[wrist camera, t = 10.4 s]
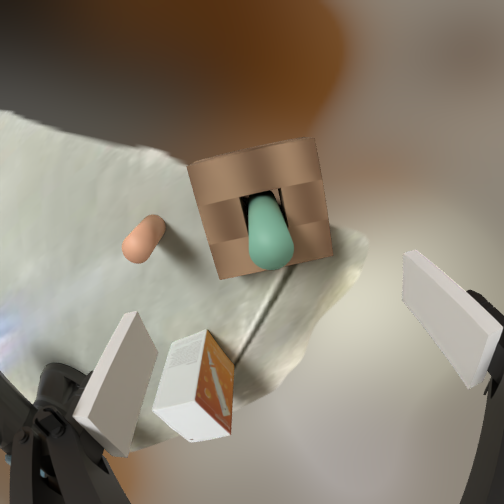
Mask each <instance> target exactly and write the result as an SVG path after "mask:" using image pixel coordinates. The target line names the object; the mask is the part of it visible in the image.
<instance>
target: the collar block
mask: <svg viewBox="0 0 504 504" xmlns="http://www.w3.org/2000/svg"><path fill="white" fill-rule="evenodd" d="M187 170H188V174H189V177H190V181H191V185H192V188H193V192H194V195H195V199H196V202H197V206H198V209H199V213H200V216H201V220H202V223H203V226H204V230H205V233H206V237H207V240H208V243H209V247H210V250H211V253H212V256H213V260H214V263H215V266H216V269H217V273H218V276H219V279H220V280H222V279H227V278H232V277H237V276H242V275H246V274H251V273H256V272H261V271H265V270H266V269H262V268H260V267H258V266H257V265H256V264H255V263H254V262H253V261H252V260H251V258H250V255H249V221H248V217H247V213H246V209H245V205H244V201H243V197H242V196H246V195H250V194H254V193H259V192H263V191H268V190H273V189H277V188H278V191H279V196H280V201H281V206H282V210H283V214H282V216H283V218H284V221H285V223H286V226H287V228H288V231H289V233H290V236H291V238H292V241H293V244H294V253H293V256H292V258H291V260H290V261H289V262H288V263H287V264H286V265H285V266H289V265H293V264H298V263H303V262H307V261H312V260H316V259H321V258H325V257H330V256H333V249H332V241H331V234H330V226H329V219H328V212H327V206H326V200H325V193H324V187H323V181H322V175H321V170H320V164H319V159H318V153H317V148H316V143H315V139H314V138H308V137H302V138H296V139H291V140H286V141H280V142H275V143H270V144H265V145H261V146H256V147H252V148H247V149H243V150H238V151H234V152H230V153H226V154H222V155H218V156H214V157H210V158H206V159H203V160H199V161H195V162H194V163H192V164H191V165H189V166H187ZM283 267H284V266H283Z"/></svg>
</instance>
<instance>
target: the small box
mask: <svg viewBox="0 0 504 504" xmlns="http://www.w3.org/2000/svg"><path fill="white" fill-rule="evenodd" d="M233 382H234V364H233V363H232V362H231V361H230V360H229V358H228V357H227V356H226V355H225V353H224V352H223V351H222V349H221V348H220V347H219V345H218V344H217V343H216V341H215V340H214V338H213V337H212V336H211V334H210V333H209V331H208V330H207V329H206V330H203V331H200V332H198V333H195V334H193V335H190V336H187V337H184V338H182V339H179V340H177V341H174V342H172V343H171V347H170V350H169V353H168V356H167V359H166V363H165V366H164V369H163V373H162V376H161V380H160V383H159V386H158V390H157V393H156V397H155V400H154V404H153V407H152V411H153V412H154V413H155V414H156V415H157V416H158V417H159V418H161V419H162V420H163V421H164V422H165V423H166V424H167V425H168V426H169V427H170V428H172V429H173V430H174V431H176V432H177V433H179V434H180V435H181V436H183V437H184V438H185V439H186V440H188V441H189V442H199V441H204V440H210V439H215V438H220V437H224V436H229V435H231V423H232V403H233Z"/></svg>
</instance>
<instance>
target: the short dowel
mask: <svg viewBox="0 0 504 504" xmlns="http://www.w3.org/2000/svg"><path fill="white" fill-rule="evenodd" d="M165 230H166V225H165V222H164V220H163V219H162V218H161V217H159V216H157V215H149V216H147V217H145V218H144V219H143V220H142V222H141V223H140V224H139V225H138V226H137V227H136V228H135V229H134V230H133V231H132V232H131V233H130V234H129V235H128V236H127V237H126V238H125V239H124V241H123V243H122V251H123V254H124V256H125V257H126V258H127V259H128V260H129V261H131V262H133V263H143V262H145V261H146V260H147V259H148V258H149V256H150V255H151V253H152V252H153V250H154V248H155V247H156V245H157V244H158V242H159V241H160V239H161V238H162V236H163V235H164V233H165Z"/></svg>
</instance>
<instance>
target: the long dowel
mask: <svg viewBox="0 0 504 504" xmlns="http://www.w3.org/2000/svg"><path fill="white" fill-rule="evenodd" d="M248 221H249V255H250V258H251V260H252V261H253V262H254V263H255V264H256V265H257V266H258V267H260V268H262V269H266V270H276V269H279V268H282V267H283V266H285V265H286V264H287V263H288V262H289V261H290V260H291V258H292V256H293V253H294V244H293V241H292V238H291V236H290V233H289V231H288V228H287V226H286V223H285V221H284V218H283V216H282V213H281V211H280V208H279V206H278V203H277V201H276V198H275V196H274V194H273V193H272V191H270V190H268V191H263V192H259V193H254V194H250V195H249V199H248Z"/></svg>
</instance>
